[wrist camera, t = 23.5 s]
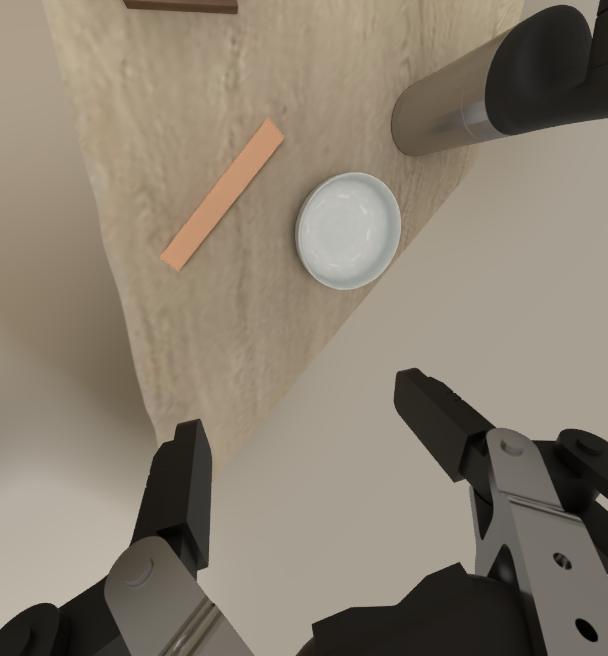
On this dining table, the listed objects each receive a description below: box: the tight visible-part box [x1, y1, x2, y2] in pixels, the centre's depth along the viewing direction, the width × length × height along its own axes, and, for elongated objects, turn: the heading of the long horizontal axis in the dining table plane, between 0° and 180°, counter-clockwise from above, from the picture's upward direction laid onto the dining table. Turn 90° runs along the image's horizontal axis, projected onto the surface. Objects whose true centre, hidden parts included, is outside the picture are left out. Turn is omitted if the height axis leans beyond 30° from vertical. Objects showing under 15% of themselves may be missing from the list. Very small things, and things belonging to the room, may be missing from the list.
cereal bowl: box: [295, 172, 401, 290], centre depth 44 cm, size 17×17×7 cm
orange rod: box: [160, 118, 285, 271], centre depth 39 cm, size 24×3×3 cm, turn 136°
